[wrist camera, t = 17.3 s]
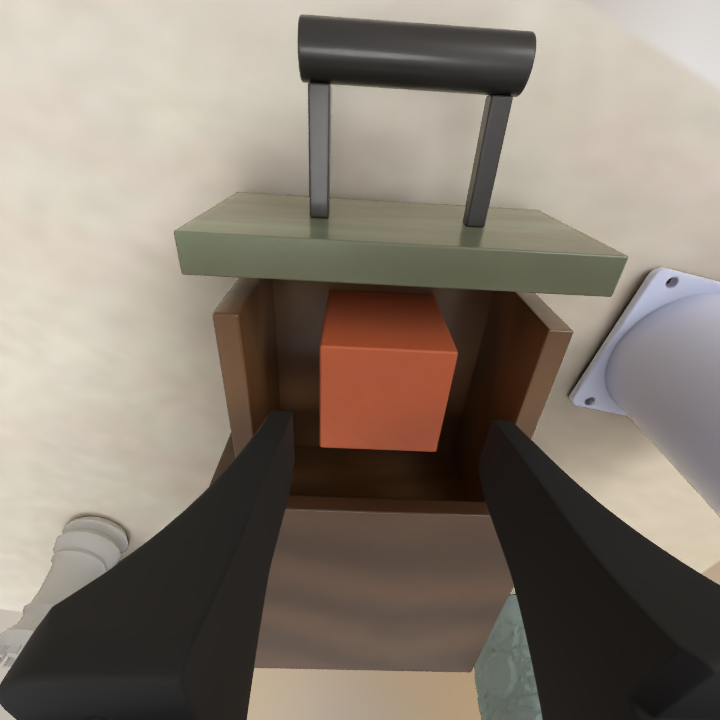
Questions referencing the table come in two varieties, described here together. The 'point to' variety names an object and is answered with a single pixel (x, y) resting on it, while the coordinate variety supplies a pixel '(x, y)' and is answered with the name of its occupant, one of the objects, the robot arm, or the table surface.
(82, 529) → the rook chess piece
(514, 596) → the grey-green pot
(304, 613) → the cabinet
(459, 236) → the drawer
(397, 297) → the block
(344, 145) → the table surface
